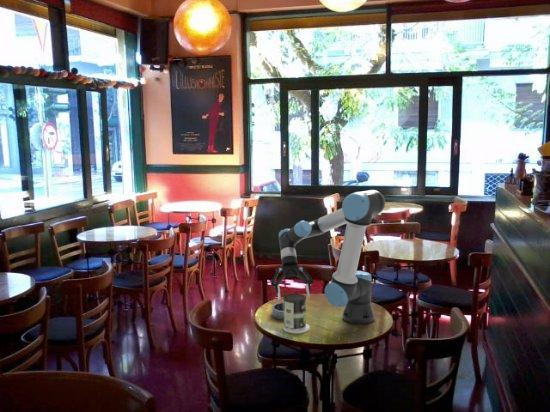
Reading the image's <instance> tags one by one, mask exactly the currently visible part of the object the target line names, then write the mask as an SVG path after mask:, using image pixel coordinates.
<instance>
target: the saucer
mask: <svg viewBox="0 0 550 412" xmlns="http://www.w3.org/2000/svg"><path fill="white" fill-rule="evenodd" d="M310 329H311V328H310V325H309V324H308V323H306V327H305V328H304V329H302V330H288V329H286V328H284V327H283V331H284V332H285V333H288V334H289V333H290V334H295V335H297V334H304V333H307V332H309V331H310Z"/></svg>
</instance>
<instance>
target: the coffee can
mask: <svg viewBox="0 0 550 412" xmlns="http://www.w3.org/2000/svg"><path fill="white" fill-rule="evenodd" d="M282 298H283V302H284V310H283V311H284V320H283V329H284V328H286V329H288V330H302V329H304V328H305V327H306V324H307V323H306V322H307V320H306V319H307V317H306V316H307V315H306V310H307V309H306V308H307V306H306V304H307V303H306V300H307V295H304V294H301V293H288V294H285V295H284V296H282Z"/></svg>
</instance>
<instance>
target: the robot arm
mask: <svg viewBox="0 0 550 412" xmlns="http://www.w3.org/2000/svg"><path fill="white" fill-rule="evenodd" d="M385 206H386V199H385V197H384V195H383V194H382V193H381V192H380V191H378V190H375V189H368V190H363V191H355V192H352V193H350V194H348V195H347V196H346V197H345V198H344V200H343V202H342V205H341V208H339V209H337V210H335V211H332V212H330V213H328V214H326V215H323V216H321V217H318V218H317V219H315V220H312V221H307V220H306V221H305V220H300V221H298V222H297V223H296V224H295V225H294V226H293V227H292V228H284V229H281V230H280V231H279V232H278V242H279V249H280V251H279V252H280V259H281V267H279V266H276V267H275V272H274V275H273V278H272V279H271V282H270V287H272V288H274V293H275V294H277V299H278V301H281V299H282V297H281V289H280V284H281V283H282V282H283V280H285V278H286V277H288V278H290V277H296V278H298V279H299V280H300V281H301V282H302V283H304V284H305V291H306V300H309V299H310V297H311V296H310V295H311V293H310V292H311V290H312V287H311V285H314V282H315V281H314V278H312V277H311V275H310V274H309V272H308V271H307V270H306V267H305V265H301V266H299V264H298V258H297V250H296V245H297V244H298V243H300V242H301V241H303V240H304V239H308V238H312V237H316V236H321V235H324V234H325V233H326V232H329V231H331V230H333V229H337V228H338V227H341V226H343V225H346V227H345V231H344V235H343V239H342V240H343V241H342V245H341V250H340V255H339V261H338V264H337V269H336V271H334V272H333V273H332V277H331V281H330V282H328V283H327V284H326V285H325V288H324V295H325V296H324V297H325V298H326V300H327V302H328V303H329V304H330V305H332V306H333V307H336V308H341V307H344V308H343V311H342V319H343V321H345V322H347V323H351V324H358V325H359V324H360V325H364V324H365V325H366V324H370V323H372V322H374V321H375V312H374V308H373V305H372V283H373V282H372V275H371V273H369V272H367V271H362V270H358V267H359V262H360V261H359V260H360V256H361V253H362V248H363V244H364V239H365V236H366V235H365V234H366V229H367V228H368V227H370V226H371V224H372V220H373V217H375V216H377V215H380V214H381V213H382V212H383V211H384V209H385ZM281 272H282V274H281V276H280V277H279V278H278V276H279V274H280V273H281ZM301 273H302V274H301ZM277 278H278V279H277ZM276 280H277V281H276Z"/></svg>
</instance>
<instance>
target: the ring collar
mask: <svg viewBox="0 0 550 412" xmlns="http://www.w3.org/2000/svg"><path fill="white" fill-rule="evenodd" d="M271 316H272V318H275V319H277V320H282V321H284V301H282V302H277V303H274V304H273V305H272V306H271Z"/></svg>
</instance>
